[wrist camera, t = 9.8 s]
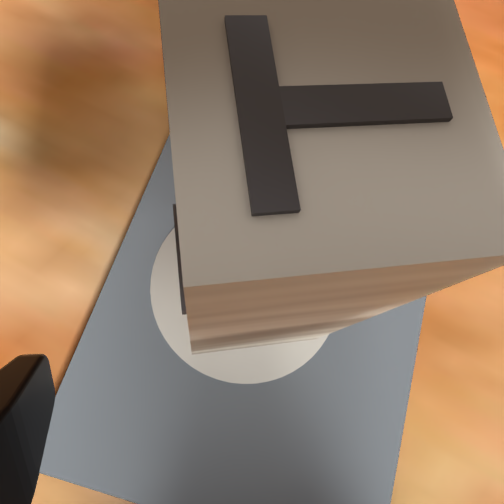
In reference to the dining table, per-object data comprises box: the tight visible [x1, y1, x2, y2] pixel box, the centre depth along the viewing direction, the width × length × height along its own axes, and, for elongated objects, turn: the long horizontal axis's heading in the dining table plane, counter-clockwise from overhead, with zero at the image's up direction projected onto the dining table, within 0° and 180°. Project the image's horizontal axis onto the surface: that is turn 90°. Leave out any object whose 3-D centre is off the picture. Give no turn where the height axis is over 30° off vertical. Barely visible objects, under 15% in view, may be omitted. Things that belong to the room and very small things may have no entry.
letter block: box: [158, 0, 504, 355], centre depth 11 cm, size 5×5×11 cm
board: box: [39, 134, 426, 504], centre depth 17 cm, size 14×12×1 cm
